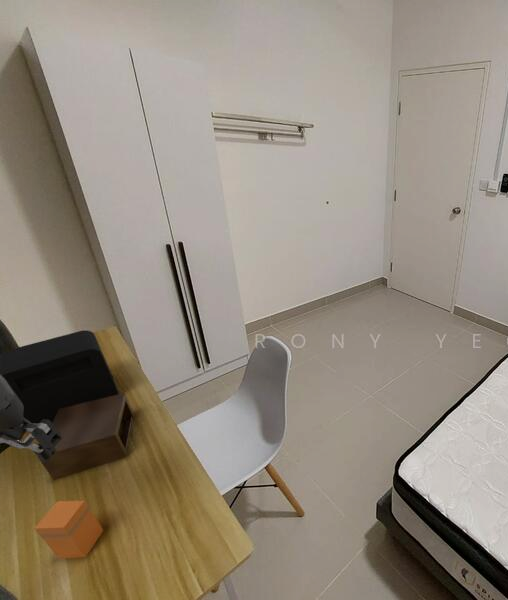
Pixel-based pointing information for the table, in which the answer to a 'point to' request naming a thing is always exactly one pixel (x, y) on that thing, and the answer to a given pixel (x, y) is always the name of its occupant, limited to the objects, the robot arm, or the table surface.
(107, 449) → the open-ended wooden box
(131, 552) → the table surface
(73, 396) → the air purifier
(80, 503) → the package
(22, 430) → the robot arm
